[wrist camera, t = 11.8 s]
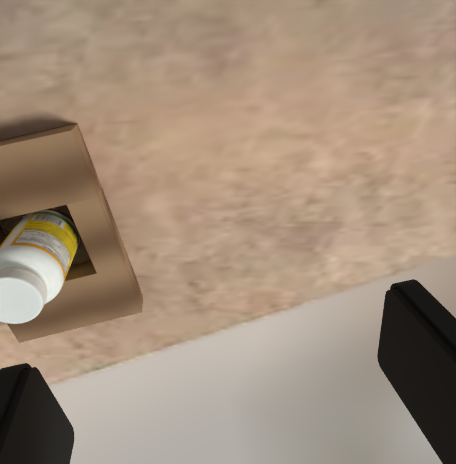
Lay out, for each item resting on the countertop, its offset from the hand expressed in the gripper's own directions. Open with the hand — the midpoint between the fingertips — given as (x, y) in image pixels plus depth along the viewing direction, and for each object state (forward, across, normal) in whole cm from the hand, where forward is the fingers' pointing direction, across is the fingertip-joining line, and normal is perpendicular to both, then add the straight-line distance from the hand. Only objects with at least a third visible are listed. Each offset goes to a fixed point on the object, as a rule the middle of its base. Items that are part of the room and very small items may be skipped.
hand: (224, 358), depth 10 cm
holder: (+24, +13, +7) cm, 28 cm away
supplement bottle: (+24, +13, +7) cm, 29 cm away
